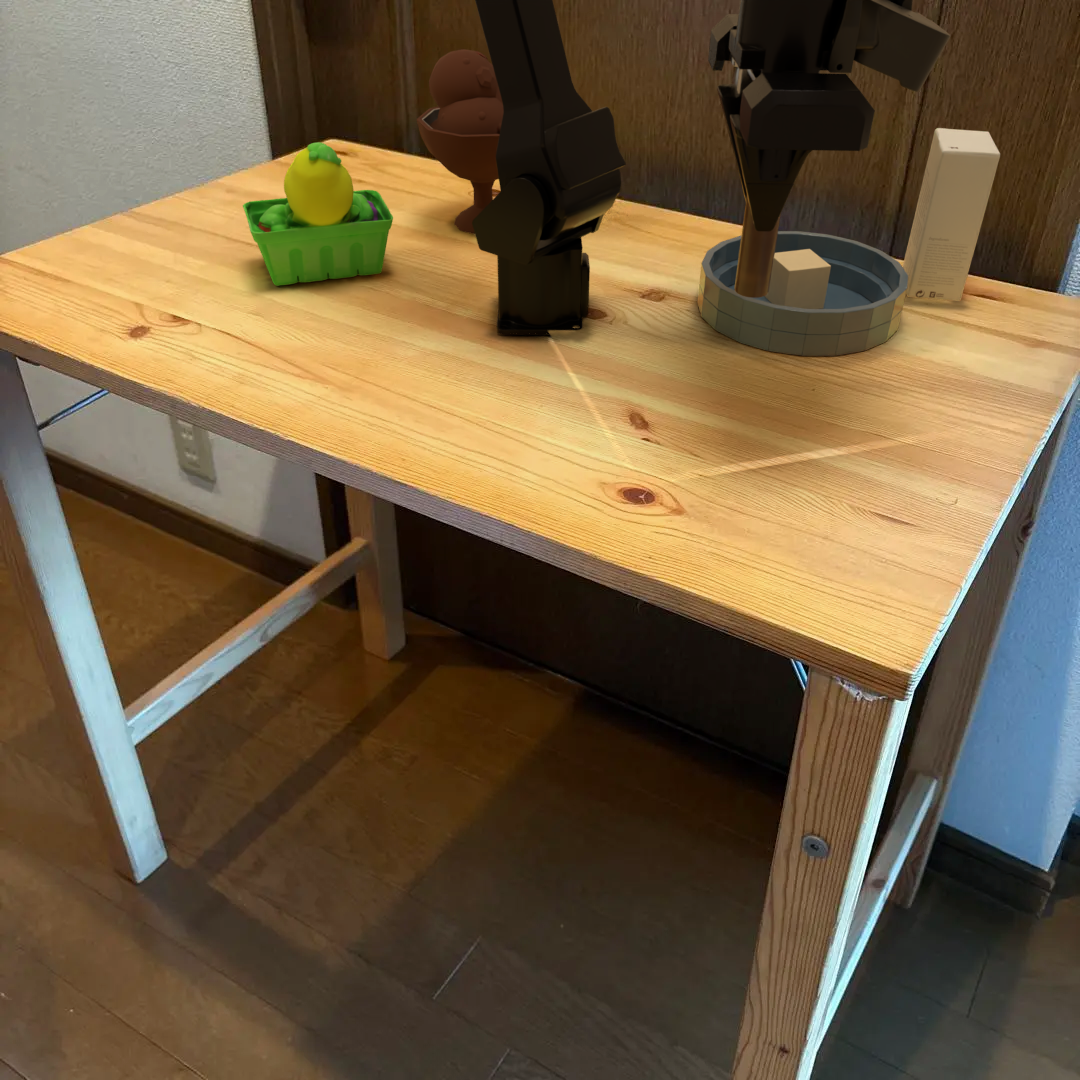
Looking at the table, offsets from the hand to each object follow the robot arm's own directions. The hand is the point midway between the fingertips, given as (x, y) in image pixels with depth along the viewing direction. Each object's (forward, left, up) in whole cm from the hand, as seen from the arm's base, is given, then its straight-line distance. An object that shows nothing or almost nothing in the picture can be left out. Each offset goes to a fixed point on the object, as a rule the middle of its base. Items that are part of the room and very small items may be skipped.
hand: (760, 222), depth 64 cm
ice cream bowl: (-19, +31, -12) cm, 38 cm away
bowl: (+6, +11, -12) cm, 18 cm away
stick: (0, 0, -5) cm, 4 cm away
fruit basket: (-32, +20, -12) cm, 40 cm away
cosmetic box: (+18, +16, -12) cm, 27 cm away
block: (+6, +13, -11) cm, 18 cm away
